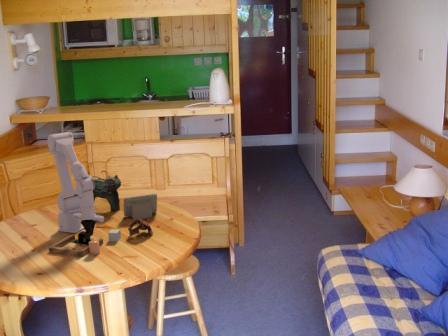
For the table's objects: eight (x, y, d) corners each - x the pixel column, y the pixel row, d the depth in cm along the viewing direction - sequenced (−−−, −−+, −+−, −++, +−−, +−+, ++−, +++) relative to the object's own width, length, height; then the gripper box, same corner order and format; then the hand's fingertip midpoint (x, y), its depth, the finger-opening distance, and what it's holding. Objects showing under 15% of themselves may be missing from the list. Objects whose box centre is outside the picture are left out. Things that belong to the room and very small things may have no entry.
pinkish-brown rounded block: (87, 254, 224) (86, 243, 222) (93, 250, 227) (92, 239, 226) (96, 256, 222) (94, 244, 221) (102, 252, 226) (100, 240, 224)
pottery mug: (153, 239, 238) (142, 226, 234) (134, 248, 240) (124, 234, 237) (156, 223, 248) (146, 210, 245) (139, 231, 251) (128, 218, 247)
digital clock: (158, 211, 271) (156, 191, 268) (158, 218, 262) (157, 196, 260) (124, 214, 269) (122, 193, 266) (123, 220, 260) (121, 199, 258)
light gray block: (109, 241, 237) (108, 232, 235) (112, 238, 240) (111, 229, 239) (118, 241, 236) (117, 233, 235) (121, 238, 240) (120, 229, 239)
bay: (49, 251, 228) (48, 247, 227) (72, 238, 241) (72, 234, 240) (81, 257, 221) (80, 252, 221) (103, 243, 235) (102, 238, 234)
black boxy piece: (67, 244, 237) (66, 233, 236) (78, 237, 243) (77, 227, 242) (91, 247, 232) (90, 237, 231) (102, 241, 238) (100, 231, 237)
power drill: (124, 209, 277) (120, 170, 272) (117, 213, 271) (113, 173, 266) (90, 205, 284) (86, 167, 279) (82, 209, 278) (78, 171, 273)
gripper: (67, 206, 235) (70, 236, 238) (95, 210, 229) (98, 241, 233) (77, 201, 241) (80, 231, 245) (105, 205, 236) (108, 235, 239)
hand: (90, 235), depth 239 cm, fingers closed
